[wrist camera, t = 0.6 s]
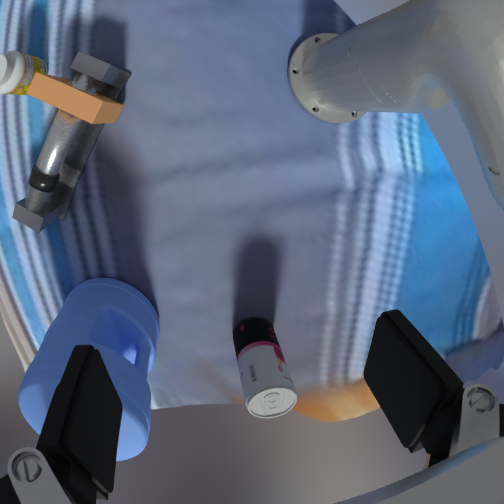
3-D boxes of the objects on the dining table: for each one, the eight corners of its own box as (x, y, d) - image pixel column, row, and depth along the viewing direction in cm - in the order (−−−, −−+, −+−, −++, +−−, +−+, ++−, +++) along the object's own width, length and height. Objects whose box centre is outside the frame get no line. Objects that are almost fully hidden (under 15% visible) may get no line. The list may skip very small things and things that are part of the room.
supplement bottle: (54, 60, 28) (19, 49, 20) (40, 98, 30) (2, 96, 21) (25, 55, 27) (-12, 45, 18) (12, 92, 28) (-28, 90, 20)
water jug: (85, 358, 47) (47, 500, 21) (53, 280, 40) (-34, 424, 15) (169, 353, 48) (167, 514, 23) (147, 268, 42) (107, 447, 17)
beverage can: (271, 312, 48) (298, 382, 35) (274, 344, 51) (298, 412, 37) (229, 319, 47) (243, 392, 34) (235, 351, 50) (249, 422, 37)
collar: (67, 79, 29) (36, 72, 21) (124, 105, 32) (103, 101, 24) (59, 96, 30) (26, 93, 22) (115, 122, 33) (92, 124, 25)
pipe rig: (93, 57, 29) (73, 47, 23) (131, 74, 31) (117, 64, 25) (31, 201, 35) (6, 217, 29) (64, 219, 37) (43, 238, 31)
